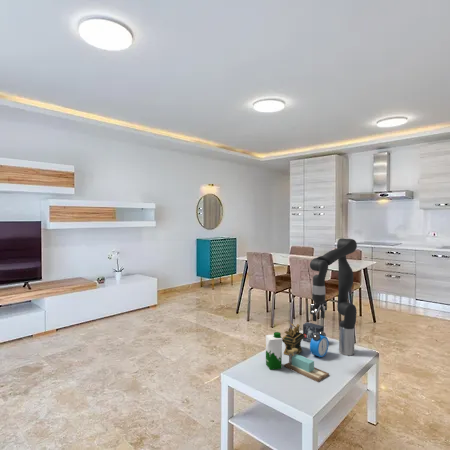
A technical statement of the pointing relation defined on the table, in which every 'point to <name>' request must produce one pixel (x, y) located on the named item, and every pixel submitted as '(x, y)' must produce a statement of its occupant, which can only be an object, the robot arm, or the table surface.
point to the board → (313, 375)
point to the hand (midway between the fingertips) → (318, 319)
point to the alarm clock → (319, 344)
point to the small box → (311, 330)
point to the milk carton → (274, 351)
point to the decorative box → (293, 339)
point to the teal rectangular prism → (303, 363)
